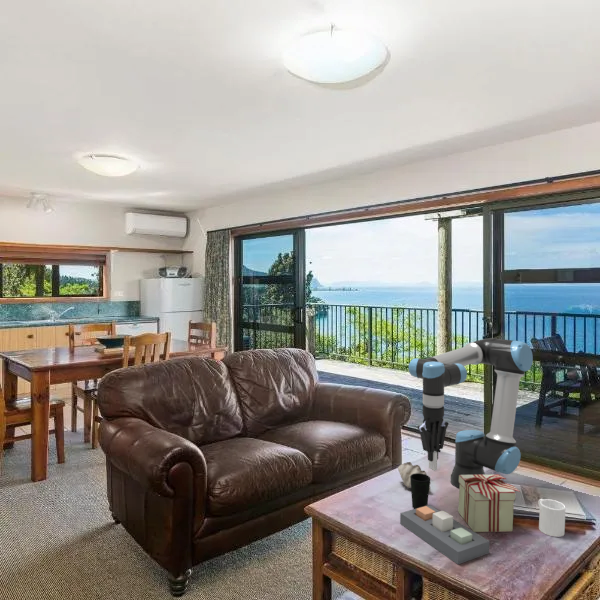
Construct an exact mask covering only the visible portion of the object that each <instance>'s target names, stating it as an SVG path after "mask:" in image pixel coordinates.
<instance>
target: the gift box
mask: <svg viewBox="0 0 600 600" xmlns="http://www.w3.org/2000/svg"><path fill="white" fill-rule="evenodd" d="M504 480H507V478H506V477H504V476H502V475H501V474H496V473H495V474H485V475H459V483H460V488H458V489H459V491H458V509H457V511H458V513H459V515H460V516H461V518H462V519H463V521H464V522H465V523H466V524H467V525H468V527H469V529H470V530H472V531H474V532H475V533H503V532H505V533H507V532H513V527H514V526H513V522H514V505H515V503H514V501H516V492H519V493H521V490H519V489H518V488H517V487H516V486H515V485H512V484H510V483H507V482H504Z"/></svg>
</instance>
